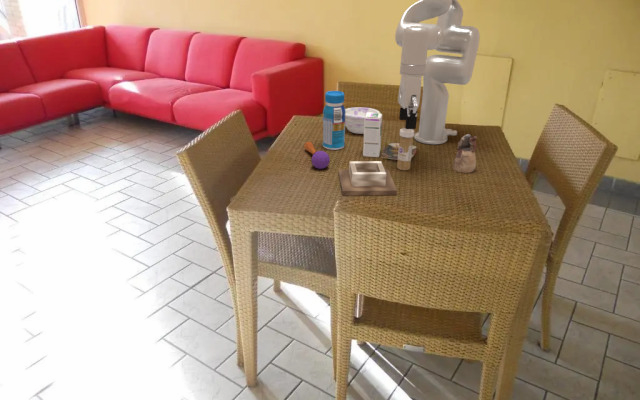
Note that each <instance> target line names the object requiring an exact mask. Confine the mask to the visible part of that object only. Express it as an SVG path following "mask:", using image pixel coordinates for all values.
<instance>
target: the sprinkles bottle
mask: <svg viewBox="0 0 640 400" xmlns="http://www.w3.org/2000/svg"><path fill="white" fill-rule="evenodd" d="M414 135H415V129H406V128H405V127H403V128H400V129H399V143H398V144H399V145H398V152H397V164H396V168H397V169H398V170H400V171H408V170H410V169H411V162H412V161H411V160H412V155H413V153H412V152H413V144H414V143H413V142H414Z"/></svg>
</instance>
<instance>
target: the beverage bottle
mask: <svg viewBox="0 0 640 400" xmlns="http://www.w3.org/2000/svg"><path fill="white" fill-rule="evenodd" d="M324 96H325V97H324V98H325V99H324V100H325V105H324V108H323V110H322V113H323V116H322V122H323V123H322V131H323V132H322V147H323V148H324V149H327V150H331V151H335V150H336V151H337V150H341V149H344V147H346V144H345V137H346V136H345V135H346V134H345V133H346V126H345V122H346V117H345V113H346V110H345V109H346V107H345V106H344V102H345V93H344V92H343V91H341V90H329V91H326V92H325V94H324Z"/></svg>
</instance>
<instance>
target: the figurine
mask: <svg viewBox="0 0 640 400" xmlns="http://www.w3.org/2000/svg"><path fill="white" fill-rule="evenodd" d="M477 137H478V136H476V135H474V136H472V135H471V134H469V133H467V134H465V135H463V136H462V137H461V138H460V140H459V141H458V142H457V148H456V150H457V152H456V155H455V159H454V161H453V166H452V169H453V170H454V172H458V173H463V174H468V173H470V174H471V173H473V172H474V171H475V170H476V166H477V165H476V164H477V163H476V162H477V161H476V159H477V158H476V149H477V147H478V146H477V145H478V144H477V142H476V139H478V138H477Z"/></svg>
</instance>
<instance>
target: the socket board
mask: <svg viewBox="0 0 640 400" xmlns="http://www.w3.org/2000/svg"><path fill="white" fill-rule="evenodd" d="M348 162H349V164H348V168H346V169H343V168H342V169H338V177H339V181H340V188H341V192H342V197H344V196H347V197H348V196H353V197H354V196H356V197H357V196H397V195H398V189H397V187H396V185H395V182H394V179H393V176H392V175H391V173H390V171H389V168H385V167H384V165H383V162H382V161H381V160H380V161H379V160H376V161H375V160H374V161H373V160H369V161H368V160H366V161H365V160H363V161H361V160H359V161H357V160H356V161H354V160H353V161H348Z"/></svg>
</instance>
